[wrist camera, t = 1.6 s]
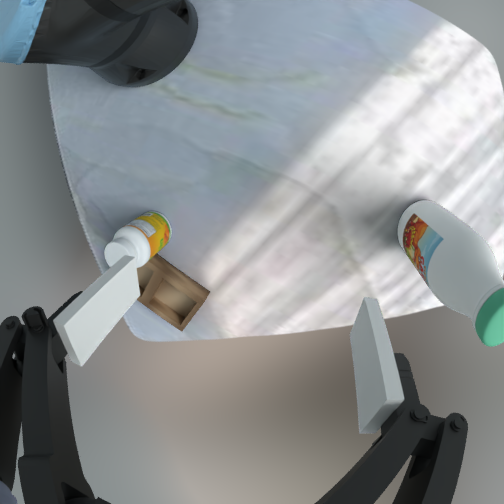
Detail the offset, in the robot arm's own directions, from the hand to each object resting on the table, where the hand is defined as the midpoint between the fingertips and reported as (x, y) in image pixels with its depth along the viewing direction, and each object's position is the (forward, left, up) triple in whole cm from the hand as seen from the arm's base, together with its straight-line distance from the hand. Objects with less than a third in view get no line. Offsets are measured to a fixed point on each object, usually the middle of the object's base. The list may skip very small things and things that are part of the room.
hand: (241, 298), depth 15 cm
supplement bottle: (-11, -13, -20) cm, 27 cm away
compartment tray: (-7, -20, -20) cm, 30 cm away
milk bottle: (+17, +10, -20) cm, 28 cm away
